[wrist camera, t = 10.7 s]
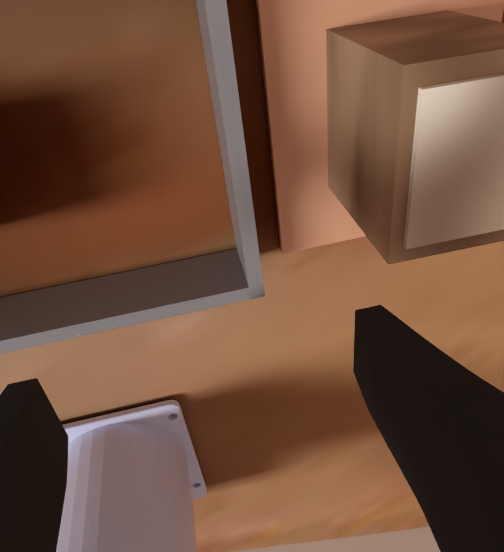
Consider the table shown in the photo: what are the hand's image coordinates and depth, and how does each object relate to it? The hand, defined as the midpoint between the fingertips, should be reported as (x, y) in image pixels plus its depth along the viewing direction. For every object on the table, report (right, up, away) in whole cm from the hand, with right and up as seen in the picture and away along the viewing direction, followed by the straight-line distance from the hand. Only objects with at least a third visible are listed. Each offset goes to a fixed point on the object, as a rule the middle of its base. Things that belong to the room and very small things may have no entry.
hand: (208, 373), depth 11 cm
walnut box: (+6, +9, +8) cm, 13 cm away
